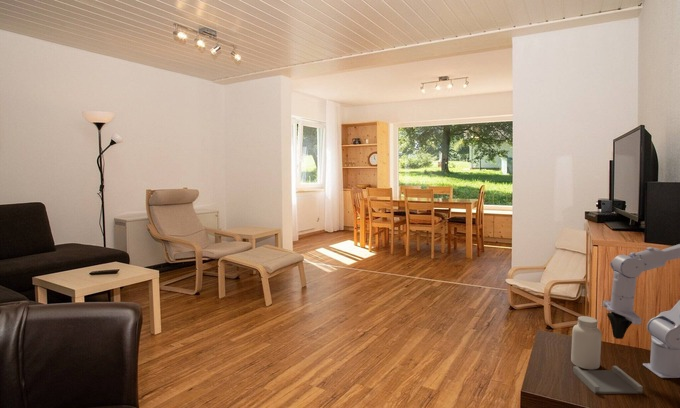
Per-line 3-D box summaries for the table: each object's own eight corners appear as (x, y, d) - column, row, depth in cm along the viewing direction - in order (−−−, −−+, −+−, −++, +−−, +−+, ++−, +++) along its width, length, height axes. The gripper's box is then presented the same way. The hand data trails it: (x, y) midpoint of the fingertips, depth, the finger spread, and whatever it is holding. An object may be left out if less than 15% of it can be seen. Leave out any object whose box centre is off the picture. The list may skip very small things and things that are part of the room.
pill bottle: (604, 371, 127) (606, 324, 125) (576, 369, 128) (577, 323, 127) (594, 359, 134) (596, 314, 133) (567, 357, 136) (568, 313, 134)
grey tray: (616, 371, 126) (616, 365, 126) (642, 393, 115) (642, 386, 115) (572, 372, 127) (573, 366, 126) (594, 393, 115) (595, 386, 115)
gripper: (595, 286, 132) (590, 327, 133) (626, 303, 117) (621, 348, 119) (617, 287, 132) (612, 328, 133) (650, 303, 117) (645, 349, 119)
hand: (618, 337), depth 126 cm, fingers closed
